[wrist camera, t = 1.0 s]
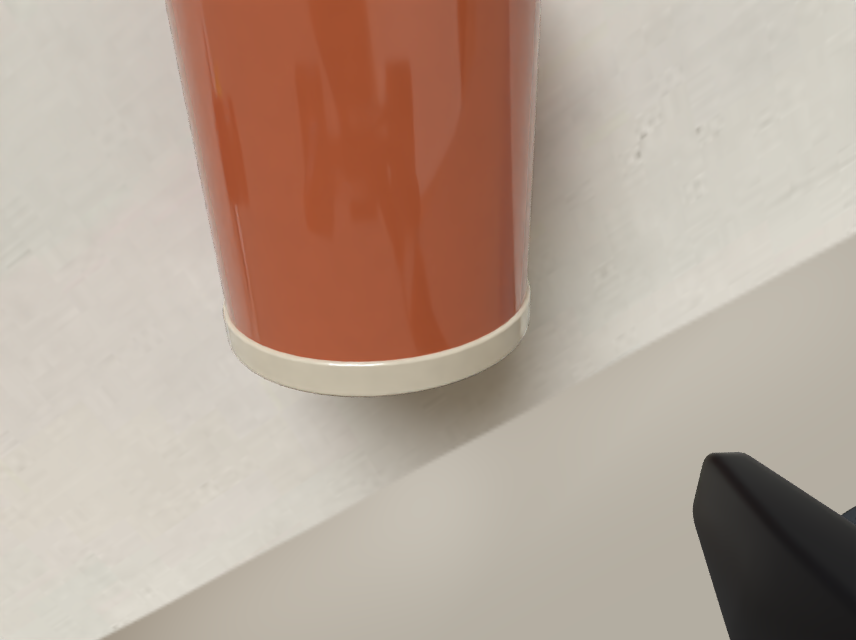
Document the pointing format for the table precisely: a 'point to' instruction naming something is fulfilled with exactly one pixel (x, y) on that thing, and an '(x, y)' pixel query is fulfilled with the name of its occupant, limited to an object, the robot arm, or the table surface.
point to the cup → (365, 183)
